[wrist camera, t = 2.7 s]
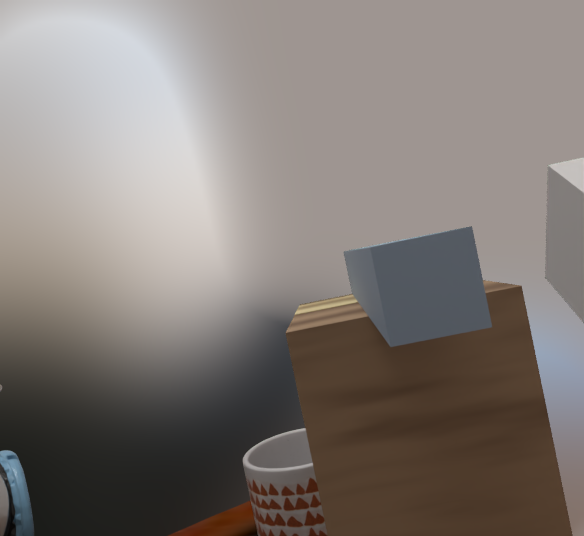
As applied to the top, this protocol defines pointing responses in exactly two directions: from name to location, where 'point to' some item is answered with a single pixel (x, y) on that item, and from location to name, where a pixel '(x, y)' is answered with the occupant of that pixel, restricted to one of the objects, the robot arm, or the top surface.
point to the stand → (427, 425)
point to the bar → (421, 286)
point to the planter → (284, 487)
